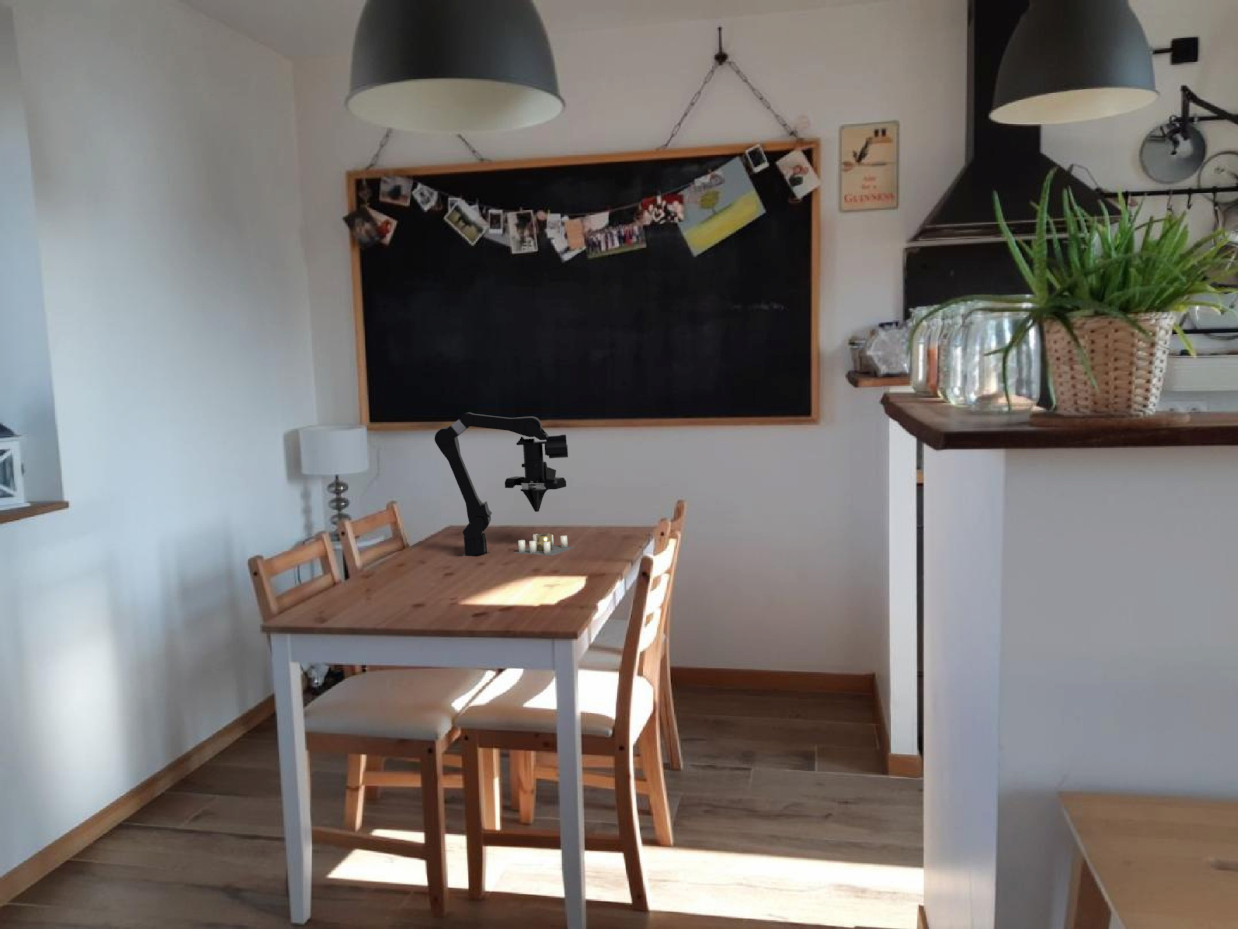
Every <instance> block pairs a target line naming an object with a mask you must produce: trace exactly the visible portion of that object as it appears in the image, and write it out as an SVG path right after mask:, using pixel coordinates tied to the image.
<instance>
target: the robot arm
mask: <svg viewBox="0 0 1238 929" xmlns="http://www.w3.org/2000/svg"><path fill="white" fill-rule="evenodd" d="M470 427H472V428H473V427H474V428H481V429H482V428H484V429H490V430H491V429H492V430H499V431H507V432H508V431H509V432H512V433H515V434H518V435H521V436H520V438H519V440H518V441H516V443H515V444H516V445H517V446H522V450H523V463H522V464H521V468H524V476H511V477H507V478H506V479H505V480H504V488H505V489H514V488H515V487H516V486H521V489H520V492H523V495H525V497H526V498H527V501H528V502H529V503H530V505H531V507H532V509H533V511H534V512H535V513H538V512H540V508H541V506H542V503H543V502H542V501H543V499H544V496H545V494H546V492H547V491H549V490H559V489H562V488H566V487H567V480H566V479H565V477H559V476H556V474H557V469H555V468H552V467H549V466H548V463H547V461H544V455H545V456H548V458H549V459H563V458H565V459H566V458H569V449H568V448H569V447H568V442H567V435H566V434H559V435H548V433H547V432H546V431H545V430H544V429H543V427H542V422H541V420H540V419H539V418H538V417H536V416H519V417H506V416H496V415H488V414H487V415H486V414H479V413H473V412H470V411H469V412H466V413H464V414H463V415H461V417H459V419H457V420H456V421H455V422H453V423H452V424H451V425H450V426H446V427H443V428H441V429H439V430H437V431H436V433H435V435H434V443H435V445H436V446H437V447H438V449H439V450H440V453H441V454H443V456H444V458H445V459H446V460H447V461H448V463H449V464H448V465H449V467H450V468H451V471H452V474H453V477H454V478H455V481H456V484H457V486H458V489H459V491H460V493H461V496H462V498H463V500H464V502H465V507H466V508H465V509H466V513H467V514H466V515H467V518H468V519H467V520H468V524H466V526H465V528H464V529H463V530H462V535H463V544H464V553H463V554H461V555H460V556H461V557H476V558H477V557H480V556H484V555H487V554H490V553H491V551H488V548H487V545H488V544H487V538H486V533H485V530H486V529H487V528H488V527H489V525H490V523H491V522H492V516H491V515H492V514H493V512H492V511H491V510H490V509H489V505H488V501H484V502H482V500H481V499H480V497H479V495H478V494H477V491H476V489H475V487H474V486H475V485H474V484H473V482H472V479H471V476H470V475H469V472H468V469H467V466H466V465H465V462H464V459H463V457H462V454H461V448H460V446H461V445H460V442H459V436H460V435H461V434H463V433H464V432H465V431H466V430H468V429H469V428H470ZM524 437H528V438H524ZM535 438H536V439H537V440H539V441H536V439H535ZM543 445H544V446H543ZM543 447H544V448H543ZM543 449H544V450H543Z"/></svg>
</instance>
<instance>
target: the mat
mask: <svg viewBox="0 0 1238 929" xmlns="http://www.w3.org/2000/svg"><path fill="white" fill-rule="evenodd" d="M536 548H537V546H536ZM575 548H576V546H568V548H561V545H554V547H553V550H551V554H547V555H545V554H544V552H541V551H537V553H534V554H533V555H538V556H539V555H540V556H541V555H542V556H552V557H553V556H557V555H559V554H561V553H564V552H567V551H569V550H572V549H575ZM525 549H526V552H524V553H521V555H522V554H525V555H532V554H531V553H530V546H529V547H527V548H526V547H525ZM514 554H520V553H519V550H518V551H515V552H514Z"/></svg>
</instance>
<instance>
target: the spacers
mask: <svg viewBox="0 0 1238 929" xmlns="http://www.w3.org/2000/svg"><path fill="white" fill-rule="evenodd" d="M538 534H539V533H533V534H532V540H529V541H528V543H529V544H528V545H529V547H530V553H531V554H530V555H535V554H534V553H537V548H536V546H537V541H536V535H538ZM559 539H560V546H561V548H568V547H569V545H568V544H569V543H568V535H560V538H559ZM554 541H555V540H554V535H553V534H552V547H554V546H555V542H554ZM517 544H518V551H519V553H518V554H522V553H524V552H526V540H525V539H520V540H517ZM543 546H544V554H545V555H544V556H548V555H547V554H551V547H550V541H545V542H543Z"/></svg>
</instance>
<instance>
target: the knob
mask: <svg viewBox="0 0 1238 929" xmlns="http://www.w3.org/2000/svg"><path fill="white" fill-rule="evenodd" d="M537 534H538V535H536V541H537V551H541V552H544V546H543V542H545V541H550V547H551V550H553V547H552V535H553V534H552V533H537Z"/></svg>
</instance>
